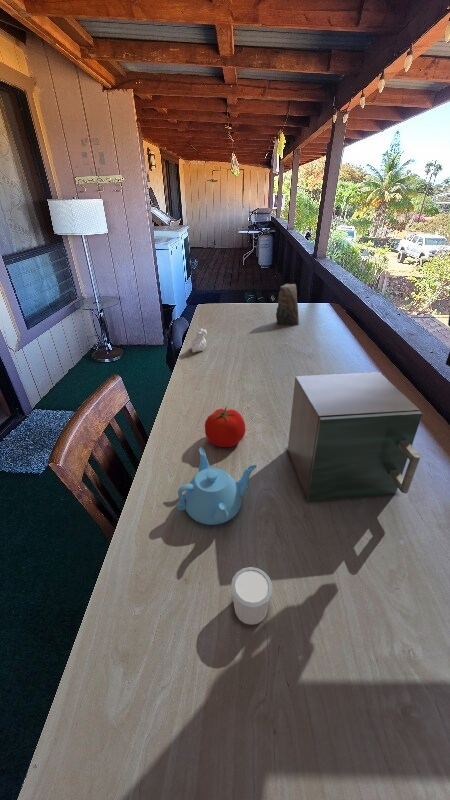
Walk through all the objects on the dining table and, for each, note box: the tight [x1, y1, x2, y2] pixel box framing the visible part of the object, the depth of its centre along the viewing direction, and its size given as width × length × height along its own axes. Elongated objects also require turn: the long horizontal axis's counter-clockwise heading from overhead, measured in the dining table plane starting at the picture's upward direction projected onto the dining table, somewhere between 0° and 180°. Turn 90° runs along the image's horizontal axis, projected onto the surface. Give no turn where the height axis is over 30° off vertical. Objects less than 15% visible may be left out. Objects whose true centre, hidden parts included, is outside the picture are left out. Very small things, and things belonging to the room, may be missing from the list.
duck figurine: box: [191, 328, 208, 353], centre depth 159 cm, size 12×8×11 cm
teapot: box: [175, 447, 257, 526], centre depth 79 cm, size 15×15×10 cm
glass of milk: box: [230, 566, 273, 626], centre depth 60 cm, size 7×7×7 cm
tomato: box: [204, 405, 246, 448], centre depth 100 cm, size 12×12×10 cm
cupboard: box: [287, 371, 421, 498], centre depth 86 cm, size 18×22×24 cm
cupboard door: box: [306, 410, 423, 502], centre depth 75 cm, size 7×22×23 cm, turn 96°
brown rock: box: [275, 283, 300, 326], centre depth 190 cm, size 13×13×20 cm
